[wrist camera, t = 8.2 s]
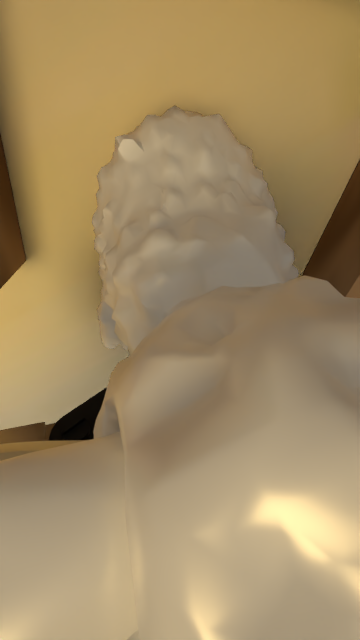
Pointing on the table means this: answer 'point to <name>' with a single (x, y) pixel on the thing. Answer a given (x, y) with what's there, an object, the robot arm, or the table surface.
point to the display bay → (326, 263)
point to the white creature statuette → (197, 423)
